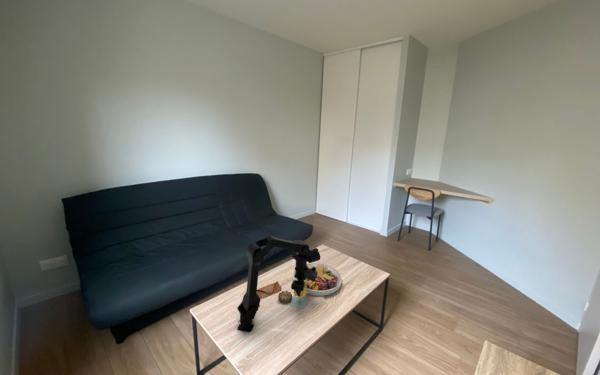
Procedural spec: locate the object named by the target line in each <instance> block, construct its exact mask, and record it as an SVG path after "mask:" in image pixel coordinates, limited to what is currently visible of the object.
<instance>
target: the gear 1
mask: <svg viewBox="0 0 600 375" xmlns="http://www.w3.org/2000/svg"><path fill="white" fill-rule="evenodd" d="M277 296H278V297H277V298H278V300H277V301H279V303H282V304H289V302H290V303H291V300H292V296H293V294H292V292H291V291H288V290H285V291H284V290H281V291H280V292H278V295H277Z"/></svg>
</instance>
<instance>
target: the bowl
mask: <svg viewBox="0 0 600 375" xmlns="http://www.w3.org/2000/svg"><path fill="white" fill-rule="evenodd" d="M307 266H308V267H309V269H310V268H312V267H315V268H316V271H317V277H316V279H315V281H314V282H312V281H311V280H309V279H307V278H306V280H304V283H306V285H307V294H306V295H310V296H315V297H316V296H318V297H319V296H324V297H325V296H329V295H333V294H334V293H335V292H337V290H339V288H340V287H341V285H342V282H343V276H342V274H341V272H339V270H337V269H336V268H334V267H333V266H331V265H328V264H324V263H319V262H318V263H317V262H316V263H315V262H312V263H307ZM294 276H295V269H294V271H293V272H292V282H293V281H294V280H298V279H297V278H295V277H294Z"/></svg>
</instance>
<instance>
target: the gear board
mask: <svg viewBox="0 0 600 375" xmlns="http://www.w3.org/2000/svg"><path fill="white" fill-rule="evenodd" d="M308 299H309V298H307V297H300V298H299V297H298V296H295V295H292V300H291V303H290V302H289V304H282V303H279V301H278V300H277V301H276V304H277V305H281V306H289V307H295V308H299V309H300V308H301V309H306V308H307V304H308Z"/></svg>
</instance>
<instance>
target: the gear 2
mask: <svg viewBox="0 0 600 375" xmlns="http://www.w3.org/2000/svg"><path fill="white" fill-rule="evenodd" d="M307 295H308V294H307V285H306V283H305V287H304V290H303V291H301V294H300V296H298V295H297V293H296V291H295V290H293V296H296V297H299V298H300V297H302V298H306V297H305V296H307Z"/></svg>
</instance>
